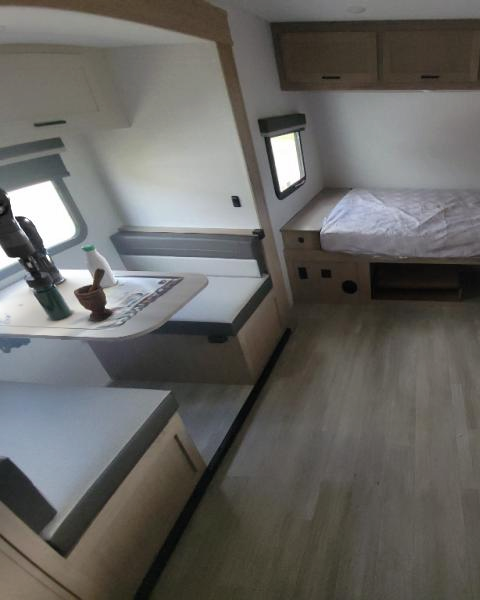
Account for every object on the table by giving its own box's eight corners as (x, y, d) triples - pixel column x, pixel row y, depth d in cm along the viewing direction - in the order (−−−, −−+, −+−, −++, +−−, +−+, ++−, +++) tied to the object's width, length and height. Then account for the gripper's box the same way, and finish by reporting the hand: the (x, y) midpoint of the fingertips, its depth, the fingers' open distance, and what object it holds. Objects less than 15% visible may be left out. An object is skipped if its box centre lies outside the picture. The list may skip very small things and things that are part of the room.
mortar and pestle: (111, 305, 146) (89, 264, 135) (126, 308, 144) (106, 267, 134) (84, 319, 137) (58, 277, 126) (100, 323, 135) (76, 280, 124)
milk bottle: (121, 281, 165) (102, 243, 154) (108, 288, 158) (88, 250, 147) (106, 279, 165) (87, 242, 155) (93, 287, 159) (72, 249, 148)
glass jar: (45, 318, 137) (22, 285, 128) (63, 309, 142) (43, 277, 134) (58, 321, 135) (36, 287, 127) (76, 312, 141) (56, 279, 133)
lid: (48, 278, 135) (44, 270, 133) (56, 282, 132) (52, 274, 130) (25, 285, 130) (21, 277, 128) (33, 289, 127) (28, 282, 125)
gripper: (32, 244, 120) (57, 284, 129) (25, 234, 128) (48, 272, 137) (3, 250, 115) (30, 291, 124) (-3, 240, 123) (23, 279, 132)
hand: (40, 281), depth 130 cm, fingers closed on lid, 7 cm apart
